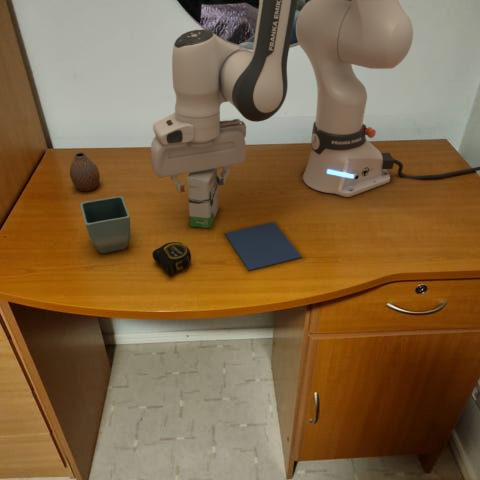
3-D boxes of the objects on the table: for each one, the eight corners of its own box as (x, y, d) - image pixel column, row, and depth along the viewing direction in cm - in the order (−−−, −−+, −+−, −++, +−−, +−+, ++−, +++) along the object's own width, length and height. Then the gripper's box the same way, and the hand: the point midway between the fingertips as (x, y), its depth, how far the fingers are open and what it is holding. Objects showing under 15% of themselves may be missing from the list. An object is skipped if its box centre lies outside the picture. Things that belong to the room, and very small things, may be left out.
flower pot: (128, 230, 108) (122, 194, 102) (136, 252, 102) (130, 216, 96) (89, 238, 106) (79, 202, 99) (94, 261, 100) (85, 224, 94)
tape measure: (152, 262, 100) (149, 247, 97) (181, 251, 102) (179, 236, 100) (168, 280, 96) (165, 265, 93) (197, 267, 98) (196, 253, 96)
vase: (68, 191, 120) (59, 158, 114) (84, 178, 125) (76, 146, 119) (91, 196, 118) (83, 163, 112) (107, 183, 123) (100, 150, 117)
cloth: (273, 223, 110) (273, 221, 110) (301, 258, 101) (301, 256, 101) (224, 234, 107) (224, 233, 107) (248, 271, 98) (248, 269, 97)
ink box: (210, 229, 108) (208, 181, 100) (189, 226, 109) (185, 178, 101) (219, 209, 114) (217, 162, 106) (199, 206, 115) (196, 159, 107)
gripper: (240, 112, 101) (239, 173, 111) (145, 125, 96) (152, 188, 105) (252, 123, 97) (250, 186, 107) (153, 137, 91) (160, 202, 101)
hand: (201, 187), depth 106 cm, fingers open, 8 cm apart
